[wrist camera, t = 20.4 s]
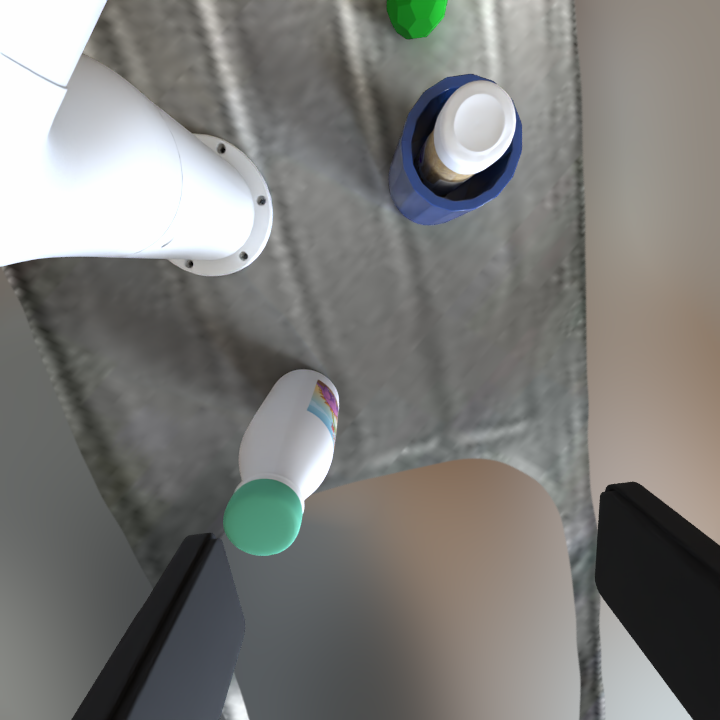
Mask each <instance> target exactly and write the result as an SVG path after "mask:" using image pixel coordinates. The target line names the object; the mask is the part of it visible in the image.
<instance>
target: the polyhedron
mask: <svg viewBox="0 0 720 720" xmlns="http://www.w3.org/2000/svg"><path fill="white" fill-rule="evenodd" d="M446 5H447V0H387V12H388V15H389V17H390V20H391V23H392V25H393V27H394V28H395V30H396V32H397V33H399V34H400V35H401V36H403V37H404V38H406V39H413V38H421V37H427V36H428V35H429V34H430V32H431V31H432V30H433V29H434V28H435V27H436V26H437V25H438V24H439V22H440V21H441V20H442V19H443V18H444V15H445V10H446Z"/></svg>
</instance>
